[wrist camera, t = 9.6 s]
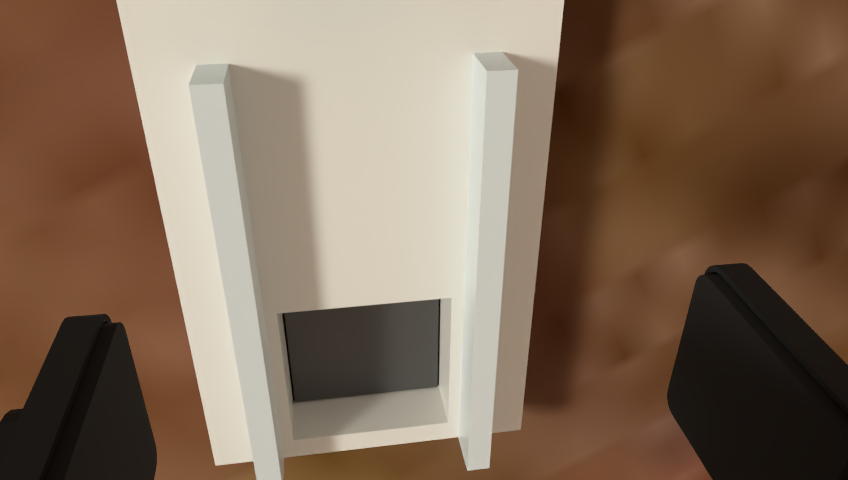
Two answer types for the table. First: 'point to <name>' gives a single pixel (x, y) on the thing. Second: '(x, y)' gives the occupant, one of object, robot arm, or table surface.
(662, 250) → the table surface
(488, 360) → the deck
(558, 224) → the table surface
